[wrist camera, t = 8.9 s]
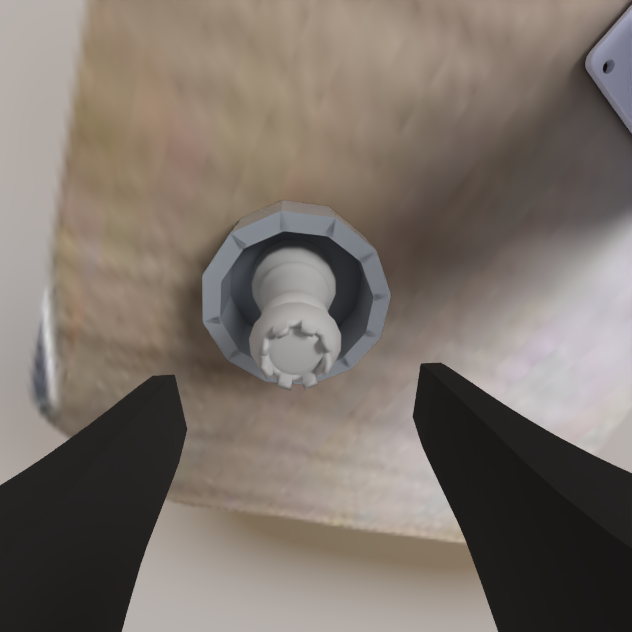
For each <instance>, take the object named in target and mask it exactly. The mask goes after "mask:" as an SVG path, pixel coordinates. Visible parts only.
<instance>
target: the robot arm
mask: <svg viewBox="0 0 632 632" xmlns="http://www.w3.org/2000/svg"><path fill="white" fill-rule="evenodd" d="M605 62H606V63H607V70H606V71H605V73H604V72H603V65H604V64H605ZM585 67H586V70H587V72H588V73H589V74H590V76H591V77H592V79H593V80H594V81H595V83H596V84H597V86H598V87H599V88H600V90H601V91H602V93H603V94H604V96H605V97H606V98H607V100H608V101H609V103H610V104H611V105H612V107H613V108H614V110H615V111H616V112H617V114H618V115H619V117H620V118H621V120H622V121H623V122H624V124H625V125H626V127H627V128H628V129H629V131H630V132H631V134H632V5H631V6H630V7H629V8H628V9H627V10H626V12H625V13H624V14H623V15H622V16H621V17H620V18H619V20H618V21H617V22H616V23H615V24H614V25H613V26H612V27H611V29H610V30H609V31H608V32H607V33H606V34H605V35H604V36H603V38H602V39H601V40H600V41H599V42H598V43H597V44H596V45H595V47H594V48H593V49H592V50H591V51H590V53H589V54H588V56H587V58H586V61H585ZM413 419H414V422H415V425H416V428H417V432H418V435H419V438H420V441H421V444H422V447H423V449H424V451H425V454H426V456H427V458H428V460H429V462H430V464H431V467H432V469H433V471H434V473H435V475H436V477H437V479H438V481H439V483H440V486H441V488H442V490H443V492H444V494H445V496H446V498H447V500H448V502H449V505H450V507H451V509H452V511H453V513H454V515H455V517H456V519H457V521H458V524H459V526H460V528H461V531H462V533H463V535H464V538H465V540H466V542H467V545H468V548H469V551H470V553H471V556H472V559H473V561H474V564H475V567H476V569H477V572H478V575H479V578H480V580H481V583H482V586H483V589H484V592H485V595H486V598H487V600H488V604H489V606H490V609H491V612H492V615H493V618H494V621H495V624H496V626H497V630H498V632H632V473H630V472H628V471H626V470H623V469H621V468H619V467H617V466H614V465H612V464H610V463H608V462H606V461H604V460H602V459H600V458H598V457H596V456H594V455H592V454H590V453H588V452H586V451H584V450H582V449H580V448H578V447H577V446H575V445H573V444H571V443H569V442H567V441H565V440H563V439H561V438H559V437H558V436H556V435H554V434H552V433H550V432H549V431H547V430H545V429H543V428H542V427H540V426H538V425H537V424H535V423H533V422H532V421H530V420H528V419H527V418H525V417H523V416H522V415H520V414H518V413H517V412H515V411H514V410H512V409H511V408H509V407H507V406H506V405H504V404H503V403H501V402H500V401H498V400H497V399H495V398H494V397H492V396H491V395H489V394H488V393H486V392H485V391H483V390H482V389H480V388H479V387H477V386H476V385H474V384H473V383H471V382H470V381H468V380H467V379H465V378H464V377H462V376H461V375H460V374H458V373H457V372H455V371H454V370H452V369H450V368H449V367H447V366H446V365H444V364H442V363H423V364H421V366H420V373H419V379H418V386H417V393H416V399H415V406H414V412H413ZM186 432H187V426H186V422H185V418H184V413H183V409H182V405H181V400H180V396H179V392H178V387H177V383H176V379H175V375H160V376H152V377H151V378H149V379H148V380H146V381H145V382H144V383H142V384H141V385H140V386H138V387H137V388H136V389H134V390H133V391H132V392H131V393H129V394H128V395H127V396H126V397H124V398H123V399H122V400H121V401H119V402H118V403H117V404H115V405H114V406H113V407H112V408H110V409H109V410H108V411H106V412H105V413H104V414H103V415H101V416H100V417H99V418H97V419H96V420H95V421H94V422H92V423H91V424H90V425H88V426H87V427H85V428H84V429H83V430H81V431H80V432H79V433H77V434H76V435H74V436H73V437H72V438H70V439H69V440H67V441H66V442H65V443H63V444H62V445H61V446H59V447H58V448H57V449H55V450H54V451H52V452H51V453H49V454H48V455H47V456H45V457H44V458H42V459H41V460H39V461H38V462H36V463H35V464H33V465H32V466H30V467H29V468H27V469H26V470H24V471H22V472H21V473H19V474H18V475H16V476H15V477H13V478H11V479H10V480H8V481H7V482H5V483H3V484H2V485H0V632H122V628H123V625H124V621H125V617H126V613H127V610H128V606H129V603H130V599H131V596H132V592H133V588H134V586H135V582H136V579H137V575H138V572H139V568H140V564H141V562H142V559H143V556H144V553H145V550H146V547H147V544H148V542H149V539H150V537H151V534H152V532H153V529H154V527H155V524H156V521H157V519H158V516H159V514H160V511H161V509H162V506H163V503H164V501H165V498H166V496H167V493H168V490H169V488H170V485H171V483H172V480H173V477H174V475H175V472H176V469H177V467H178V464H179V461H180V457H181V453H182V449H183V445H184V441H185V436H186Z"/></svg>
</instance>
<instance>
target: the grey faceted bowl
mask: <svg viewBox="0 0 632 632" xmlns="http://www.w3.org/2000/svg"><path fill="white" fill-rule="evenodd" d="M283 240H303V241H305V242H308V243H311V244H313V245H316V246H318V247H319V248H320V249H321V250H322V251H323V252H324V253H325V254H326V255H327V256H328V257H329V258H330V261H331V263H332V266H333V268H334V270H335V277H336V294H335V297H334V299H333V301H332V303H331V305H330V308H329V310H328V313H329V316H331V317H332V318H333V319H334V320H335V322H336V324H337V327H338V329H339V331H340V333H341V351H340V353H339V355H338V357H337V359H336V361H335V363H334V365H333V366H332V368H331V370H330V372H329V374H328V375H326V374H324V373H323V374H322V375H320V376H318V377H317V381H318V382H319V381H321V380H324V379H327V378H329V377H332V376H334V375H337V374H340V373H342V372H345V371H348V370H350V369H352V368H353V367H354V365H355V364H356V363H357V362H358V361H359V360H360V359H361V358H362V357H363V356H364V355H365V354H366V353H367V352H368V351H369V350H370V348H371V347H372V346H373V345H374V344H375V343H376V342H377V341H378V340H379V339H380V338H381V334H382V330H383V326H384V322H385V318H386V314H387V310H388V306H389V302H390V298H391V293H390V290H389V287H388V284H387V281H386V278H385V275H384V272H383V269H382V266H381V263H380V260H379V257H378V254H377V251H376V249H375V248H374V247H373V246H372V245H371V244H370V243H369V242H368V240H367V239H366V238H365V237H364V236H363V235H362V234H361V233H360V232H359V231H358V230H356V229H355V228H354V227H353V226H351V225H350V224H349V223H348V222H347V221H345V220H344V219H343V218H342V217H340V216H339V215H338V214H337V213H335V212H334V211H333V210H332V209H331V208H329V207H328V206H323V205H315V204H308V203H300V202H293V201H285V200H282V201H279V202H277V203H275V204H273V205H270V206H268V207H266V208H264V209H261V210H259V211H257V212H255V213H252V214H250V215H248V216H246V217H243V218H241V220H240V221H239V222H238V224H237V225H236V226H235V227H234V229H233V230H232V231H231V233H230V234H229V236H228V237H227V239H226V240H225V242H224V243H223V245H222V246H221V248H220V249H219V251H218V252H217V254H216V255H215V257H214V258H213V260H212V261H211V263H210V264H209V266H208V268H207V269H206V271H205V272H204V274H203V275H202V304H203V324H204V325H205V327H206V328H207V330H208V331H209V333H210V334H211V336H212V338H213V339H214V341H215V342H216V344H217V345H218V347H219V349H220V350H221V352H222V353H223V355H224V356H225V358H226V359H227V360H228V361H229V362H231V363H233V364H235V365H237V366H238V367H240V368H242V369H244V370H246V371H247V372H249V373H251V374H253V375H255V376H256V377H258V378H260V379H262V380H263V381H265V382H277V379H276V378H273V377H271V376H269V377H268V378H265V377H264V375H263V374H262V372H261V370H260V369H259V367H258V365H257V364H256V362H255V360H254V359H253V357H252V356H251V352H250V343H249V337H250V335H251V332H252V329H253V326H254V323H255V322H256V321H257V320H258V319H259V318H260V317H261V314H262V313H261V311H260V309H259V307H258V306H257V304H256V302H255V300H254V298H253V296H252V286H251V279H252V276H251V275H252V272H253V269H254V266H255V263H256V260H257V259H258V258H259V256H260V255H261V254H262V253H263V252H264V251H265V250H266V249H267V248H268V247H270V246H272V245H274V244H276V243H279V242H281V241H283ZM292 384H303V382H292Z"/></svg>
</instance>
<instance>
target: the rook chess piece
mask: <svg viewBox="0 0 632 632" xmlns="http://www.w3.org/2000/svg"><path fill="white" fill-rule="evenodd" d="M251 276H252V279H251V286H252V296H253V298H254V300H255V302H256V304H257V306H258V307H259V309H260V311H261V313H262V314H261V317H260V318H259V319H258V320H257V321H256V322H255V323H254V326H253V329H252V332H251V335H250V337H249V343H250V352H251V356H252V357H253V359H254V360H255V362H256V364H257V365H258V367H259V369H260V370H261V372H262V374H263V375H264V377H265V378H268V377H269V376H271V377H273V378H276V379H277V387H280V388H284V389H287V390H291V385H292V382H303V385H304V389H307V388H310V387H312V386H315V385H318V381H317V377H318V376H320V375H322V374H323V373H324V374H326V375H328V374H329V372H330V370H331V368H332V366H333V365H334V363H335V361H336V359H337V357H338V355H339V353H340V351H341V333H340V331H339V329H338V327H337V324H336V322H335V320H334V319H333V318H332V317H331V316H329V313H328V310H329V308H330V305H331V303H332V301H333V299H334V297H335V294H336V277H335V270H334V268H333V266H332V263H331V261H330V258H329V257H328V256H327V255H326V254H325V253H324V252H323V251H322V250H321V249H320V248H319V247H318V246H316V245H313V244H311V243H308V242H305V241H303V240H283V241H281V242H279V243H276V244H274V245H272V246H270V247H268V248H267V249H266V250H265V251H264V252H263V253H262V254H261V255H260V256H259V258H258V259H257V260H256V263H255V266H254V269H253V272H252V275H251Z"/></svg>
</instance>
